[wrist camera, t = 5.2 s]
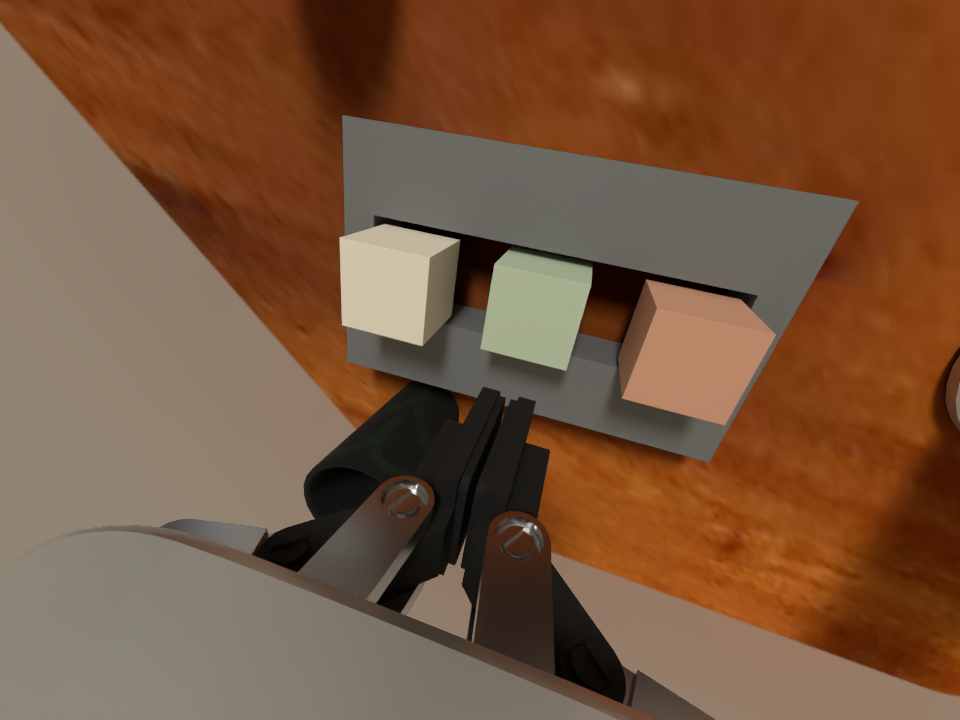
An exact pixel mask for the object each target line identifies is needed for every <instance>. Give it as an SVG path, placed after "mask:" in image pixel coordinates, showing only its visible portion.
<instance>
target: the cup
mask: <svg viewBox="0 0 960 720" xmlns="http://www.w3.org/2000/svg"><path fill="white" fill-rule="evenodd" d="M458 416H459V409H458V405H457V402H456V400H455V399H454V397H453V395H452V394H451V393H450V392H449V391H448V390H447V389H443V388H440V387H436V386H433V385H429V384H426V383H422V382H418V381H413V382H411V383H409V384H408V385H406V386H405V387H404V388H403V389H402V390H401V391H400V392H398V393H397V394H396V395H395V396H394V397H393V398H392V399H391V400H389V401H388V402H387V403H386V404H385V405H384V406H383V407H381V408H380V409H379V410H378V411H377V412H376V413H375V414H374V415H372V416H371V417H370V418H369V419H368V420H367V421H366V422H365V423H363V424H362V425H361V426H360V427H359V428H358V429H357V430H356V431H354V432H353V433H352V434H351V435H350V436H349V437H348V438H347V439H345V440H344V441H343V442H342V443H341V444H340V445H339V446H338V447H337V448H335V449H334V450H333V451H332V452H331V453H330V454H328V455H327V456H326V457H325V458H324V459H323V460H322V461H321V462H319V464H317V465H316V466H315V467H314V468H313V469H312V470H311V471H310V472H309V473H308V475H307V476H306V479H305V482H304V496H305V500H306V503H307V506H308V508H309V510H310V512H311V513H312V515H313V517H314V518H315V519H317V518H320V517H324V516H327V515H330V514H334V513H337V512H340V511H343V510H347V509H350V508H353V507H357V506H360V505H362V504H363V503H364V502H365V501H366V500H367V499H368V498H369V497H370V496H371V495H372V494H373V492H374V491H375V490H376V489H377V488H378V487H379V486H380V485H381V484H383V483H384V482H385V481H387V480H389V479H391V478H394V477H398V476H412V475H413V474H414V472H415V471H416V469H417V467H418V466H419V464H420V462H421V461H422V459H423V458H424V456H425V454H426V453H427V451H428V449H429V448H430V446H431V444H432V443H433V441H434V440H435V438H436V436H437V435H438V433H439V431H440V430H441V428H442V427H443V425H444V423H445V422H446V421H447V420H451V421H454V422H457V420H458Z"/></svg>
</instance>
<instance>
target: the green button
mask: <svg viewBox="0 0 960 720" xmlns="http://www.w3.org/2000/svg"><path fill="white" fill-rule="evenodd" d="M592 268H593V262H589V261H584V260H579V259H574V258H570V257H565V256H560V255H555V254H551V253H546V252H541V251H536V250H532V249H527V248H522V247H517V246H512V247H511V248H510V249H509V250H508V251H507V252H506V253H505V254H504V255H503V256H502V257H501V258H500V259H499V260H498V261H497V262H496V263H495V264H494V269H493V275H492V282H491V288H490V294H489V300H488V306H487V312H486V318H485V324H484V330H483V336H482V342H481V348H480V349H483V350H487V351H491V352H494V353H498V354H502V355H506V356H510V357H514V358H518V359H522V360H526V361H529V362H533V363H537V364H541V365H545V366H549V367H553V368H557V369H561V370H565V371H566V370H567V366H568V363H569V360H570V356H571V353H572V349H573V346H574V343H575V339H576V336H577V332H578V329H579V326H580V322H581V319H582V315H583V312H584V308H585V305H586V302H587V298H588V295H589V291H590V288H591V283H592Z"/></svg>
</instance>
